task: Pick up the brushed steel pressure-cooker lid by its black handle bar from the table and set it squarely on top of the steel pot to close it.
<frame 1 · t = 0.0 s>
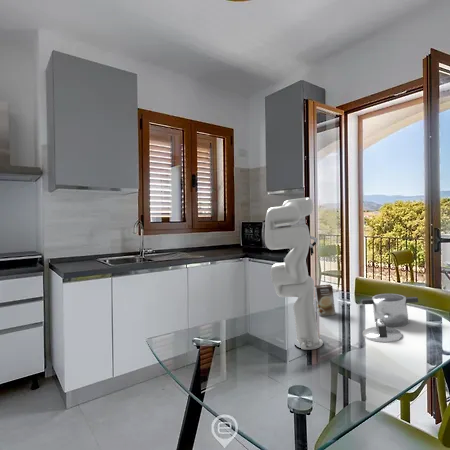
hand: (302, 255, 169), 37 cm above the table, tool pointing down, fingers open, 9 cm apart
pot: (391, 321, 161), on the table
coffee box: (326, 314, 185), on the table
lid: (381, 335, 147), on the table
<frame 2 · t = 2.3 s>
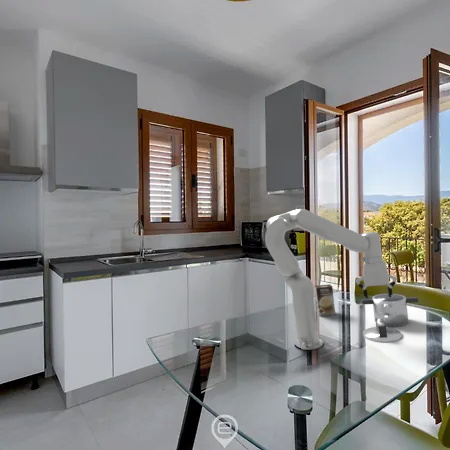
hand: (378, 297, 147), 17 cm above the table, tool pointing down, fingers open, 9 cm apart
nothing on the table moved.
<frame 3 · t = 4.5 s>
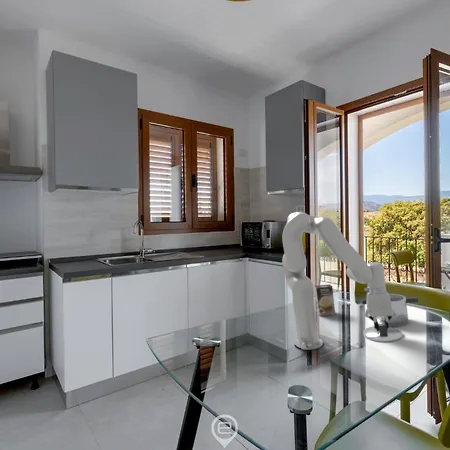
hand: (381, 329, 147), 2 cm above the table, tool pointing down, fingers closed on lid, 3 cm apart
lid: (382, 334, 147), on the table, touching gripper
everything else where it was.
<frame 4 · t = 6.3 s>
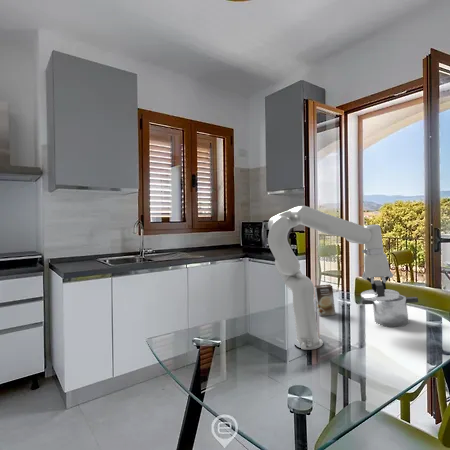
hand: (379, 290, 149), 19 cm above the table, tool pointing down, fingers closed on lid, 3 cm apart
lid: (379, 296, 149), point 17 cm above the table, touching gripper
everything else where it was.
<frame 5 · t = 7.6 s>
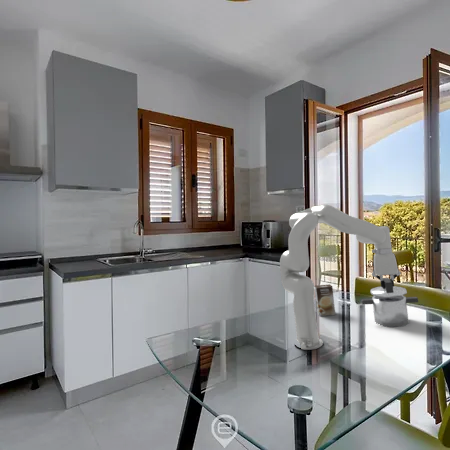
hand: (387, 287, 161), 17 cm above the table, tool pointing down, fingers closed on lid, 3 cm apart
lid: (388, 292, 161), point 15 cm above the table, touching gripper
everything else where it was.
when the fingers open (16 cm above the table, at t = 8.4 s): lid drops 1 cm, resting on pot.
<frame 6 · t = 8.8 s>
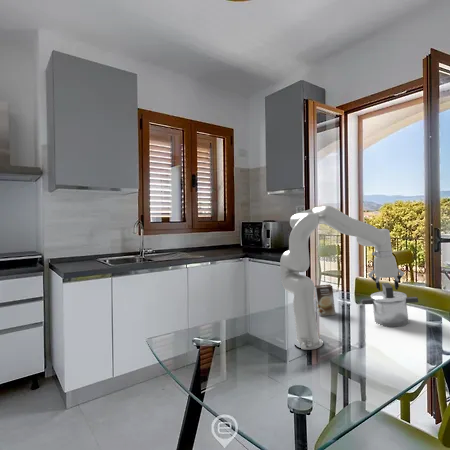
hand: (387, 289, 161), 16 cm above the table, tool pointing down, fingers open, 7 cm apart
lid: (388, 297, 161), point 12 cm above the table, touching pot
everything else where it was.
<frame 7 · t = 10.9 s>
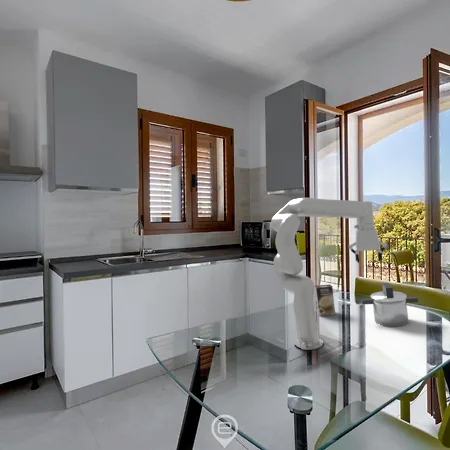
hand: (368, 261, 159), 31 cm above the table, tool pointing down, fingers open, 9 cm apart
nothing on the table moved.
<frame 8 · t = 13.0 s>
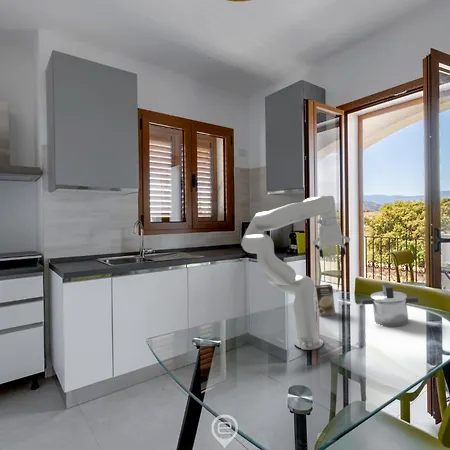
hand: (332, 257, 156), 36 cm above the table, tool pointing down, fingers open, 9 cm apart
nothing on the table moved.
at the end: lid 0.1 cm off-centre on the pot, point 12.0 cm above the pot's base; lid tilted 0°; the gripper is holding nothing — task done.
